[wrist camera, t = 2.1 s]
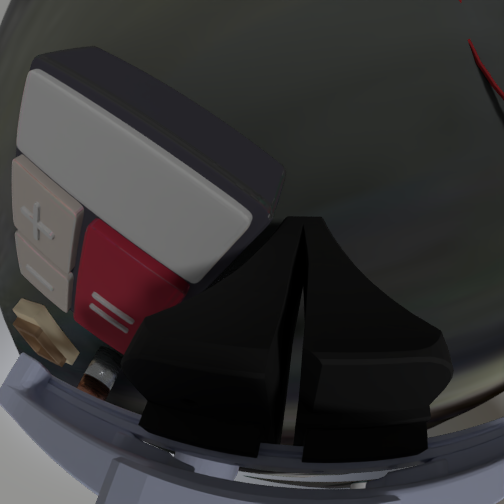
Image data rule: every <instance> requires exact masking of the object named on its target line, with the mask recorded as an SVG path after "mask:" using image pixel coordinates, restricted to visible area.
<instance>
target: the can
mask: <svg viewBox="0 0 504 504" xmlns="http://www.w3.org/2000/svg"><path fill="white" fill-rule="evenodd" d="M367 482H369V481H359V482H353V483H352V484H351V488H350V489H361V488H366V483H367Z"/></svg>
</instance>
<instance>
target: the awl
mask: <svg viewBox="0 0 504 504" xmlns="http://www.w3.org/2000/svg"><path fill="white" fill-rule="evenodd" d="M121 360H122V358H121V357H120V356H119V355H118V354H116V353H115V352H114V351H112V350H110V349H108V348H106V347H100V348H99V349H98V351H97V353H96V354H95V356H94V358H93V360H92V361H91V363H90V365H89V367H88V368H87V370H86V372H85V374H84V375H83V377H82V379H81V381H80V383H79V385H78V386H77V389H79V390H81V391H83V392H85V393H88V394H90V395H92V396H94V397H96V398H99V399H101V400H103V401H105V400H106V398H107V396H108V394H109V392H110V390H111V388H112V386H113V384H114V382H115V380H116V378H117V376H118V374H119V372H120V370H121V368H122V367H121V363H120V362H121Z"/></svg>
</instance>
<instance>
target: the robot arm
mask: <svg viewBox="0 0 504 504" xmlns="http://www.w3.org/2000/svg"><path fill="white" fill-rule="evenodd" d="M302 289H303V290H304V313H305V329H304V340H303V351H302V366H301V379H300V391H299V402H298V410H297V418H296V425H295V436H294V444H293V446H290V445H280V442H281V435H282V427H283V420H284V412H285V404H286V396H287V388H288V379H289V371H290V362H291V353H292V343H293V337H294V331H295V326H296V321H297V316H298V311H299V305H300V300H301V294H302ZM120 363H121V367H122V370H123V373H124V374H125V376H126V377H127V378H128V380H129V381H130V382H131V383H132V384H133V385H134V386H135V388H136V389H137V390H138V391H139V392H140V393H141V394H142V395H143V396H144V397H145V398H146V399H147V400H148V402H147V404H146V407H145V409H144V411H143V414H142V415H140V414H137V413H134V412H131V411H128V410H126V409H123V408H121V407H118V406H115V405H113V404H111V403H108V402H106V401H103V400H101V399H99V398H96V397H94V396H92V395H90V394H88V393H85V392H83V391H81V390H79V389H77V388H75V387H73V386H71V385H69V384H67V383H65V382H63V381H62V380H60V379H58V378H56V377H54V376H52V375H51V373H50V372H49V371H48V370H47V369H46V368H45V367H44V366H43V365H42V364H41V363H40V362H38V361H37V360H36V359H34V358H32V357H31V356H29V355H27V354H26V353H21V355H20V357H19V358H18V359H17V361H16V363H15V364H14V366H13V368H12V369H11V371H10V372H9V374H8V376H7V378H6V379H5V381H4V383H3V384H2V386H1V388H0V405H1V406H2V407H3V408H4V409H5V410H6V412H7V413H8V414H9V415H10V416H11V417H12V418H13V419H14V420H15V421H16V422H17V423H18V424H19V425H20V427H21V428H22V429H23V430H24V431H25V432H26V433H27V434H28V435H29V436H30V437H31V439H32V440H33V441H34V442H35V443H36V444H37V445H38V446H39V447H40V448H41V449H42V450H43V451H44V452H45V453H46V454H48V455H49V456H50V457H51V458H52V459H53V460H54V461H55V462H56V463H57V464H59V466H61V467H62V468H63V469H64V470H65V471H67V472H68V473H69V474H70V475H71V476H73V477H74V478H75V479H76V480H78V481H79V482H80V483H81V484H83V485H84V486H85V487H87V488H88V489H89V490H91V491H92V492H94V493H95V494H96V495H98V498H97V501H96V504H496V503H497V502H499V501H501V500H502V499H504V417H501V418H499V419H496V420H493V421H490V422H488V423H484V424H481V425H478V426H475V427H471V428H468V429H464V430H461V431H457V432H453V433H449V434H445V435H440V436H436V437H430V438H427V426H426V422H427V421H429V420H430V417H431V414H430V406H429V405H430V404H431V403H432V402H433V401H434V400H435V399H436V398H437V397H438V395H439V394H440V393H441V392H442V391H443V390H444V389H445V388H446V386H447V385H448V383H449V382H450V380H451V379H452V376H453V371H454V370H453V366H452V362H451V358H450V354H449V350H448V347H447V344H446V342H445V339H444V337H443V334H442V332H441V330H439V329H437V328H436V327H434V326H432V325H431V324H429V323H427V322H426V321H424V320H422V319H421V318H419V317H417V316H415V315H414V314H412V313H411V312H409V311H408V310H406V309H405V308H404V307H402V306H401V305H399V304H398V303H396V302H395V301H394V300H393V299H391V298H390V297H389V296H387V295H386V294H385V293H384V292H382V291H381V290H380V289H379V288H378V287H377V286H375V285H374V284H373V283H372V282H371V281H370V280H369V279H368V278H367V277H366V276H365V275H364V274H363V273H362V272H361V271H360V270H359V269H358V268H357V267H356V266H355V265H354V264H353V262H352V261H351V260H350V259H349V257H348V256H347V255H346V254H345V252H344V251H343V250H342V248H341V247H340V246H339V244H338V243H337V241H336V240H335V238H334V237H333V235H332V234H331V232H330V231H329V229H328V227H327V225H326V223H325V221H324V219H323V218H322V217H293V216H288V217H287V218H285V220H284V221H283V222H282V224H281V225H280V226H279V228H278V229H277V230H276V232H275V233H274V234H273V235H272V236H271V237H270V239H269V240H268V241H267V242H266V243H265V244H264V245H263V246H262V247H261V248H260V249H259V250H258V251H257V252H256V253H255V254H254V255H253V256H252V257H251V258H250V259H249V260H248V261H247V262H246V263H245V264H244V265H242V266H241V267H240V268H239V269H237V270H236V271H235V272H233V273H232V274H231V275H229V276H227V277H226V278H224V279H223V280H221V281H220V282H218V283H217V284H215V285H214V286H212V287H210V288H209V289H207V290H205V291H203V292H201V293H200V294H198V295H196V296H194V297H192V298H190V299H188V300H186V301H184V302H182V303H179V304H177V305H175V306H172V307H170V308H167V309H165V310H162V311H160V312H157V313H155V314H152V315H150V316H147V317H145V318H144V320H143V321H142V323H141V325H140V326H139V328H138V329H137V331H136V333H135V335H134V337H133V338H132V340H131V342H130V344H129V346H128V348H127V350H126V352H125V353H124V355H123V357H122V360H121V362H120ZM142 440H143V441H146V442H148V443H151V444H154V445H157V446H160V447H163V448H166V449H169V450H172V451H176V452H175V455H174V457H173V456H172V455H171V454H170V453H169V452H166V451H164V450H161V449H159V448H157V447H154V446H152V445H149V444H147V443H145V442H143V441H142ZM415 465H417V466H415ZM239 466H240V467H246V468H253V469H260V470H269V471H278V472H290V473H310V474H342V473H361V472H373V471H383V470H391V469H397V468H404V467H409V468H405V469H401V470H396V471H392V472H388V473H387V474H386V475H385V476H384V477H382V478H379V479H376V480H372V481H369V482H367V483H366V488H361V489H297V488H285V487H273V486H265V485H257V484H250V483H243V482H238V481H233V480H234V479H235V477H236V476H237V473H238V469H239ZM410 466H413V467H410Z"/></svg>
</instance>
